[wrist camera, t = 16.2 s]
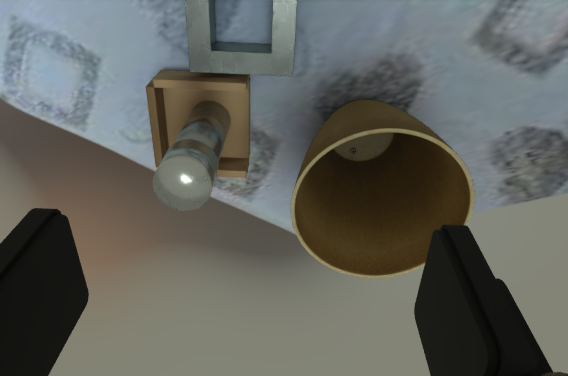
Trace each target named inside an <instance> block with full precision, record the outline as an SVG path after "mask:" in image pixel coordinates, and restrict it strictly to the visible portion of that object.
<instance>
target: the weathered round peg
mask: <svg viewBox="0 0 568 376" xmlns="http://www.w3.org/2000/svg"><path fill="white" fill-rule="evenodd" d="M230 124H231V118H230V115H229V112H228V111H227V109H226V108H225V107H224V106H223V105H221V104H220V103H218V102H215V101H202V102H200V103H198V104H197V105H196V106H195V107H194V108H193V109H192V111H191V113H190V115H189V117H188V119H187V120H186V122H185V124H184V126H183V128H182V130H181V131H180V133H179V135H178V137H177V139H176V141H175V142H174V144H173V145H171V146H170V148H169V149H168V150H167V152H166V154H165V156H164V158H163V160H162V161H161V163H160V165H159V167H158V169H157V170H156V172H155V174H154V177H153V188H154V191H155V193H156V195H157V196H158V198H159V199H160V200H161V201H162V202H163V203H164V204H166V205H167V206H169V207H171V208H173V209H176V210H181V211H182V210H183V211H189V210H195V209H198V208H200V207H202V206H203V205H204V204H205V203H206V202H207V201H208V199H209V197H210V195H211V192H212V188H213V185H214V182H215V179H216V176H217V172H218V168H219V164H218V162H219V159H220V156H221V153H222V150H223V147H224V143H225V140H226V137H227V134H228V131H229V128H230Z"/></svg>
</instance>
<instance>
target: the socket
mask: <svg viewBox="0 0 568 376" xmlns="http://www.w3.org/2000/svg"><path fill="white" fill-rule="evenodd" d="M296 5H297V0H273V28H272V44H256V43H235V42H216V22H215V0H185V6H186V21H187V35H188V49H189V63H190V72H207V73H228V74H249V75H271V76H292V77H293V63H294V44H295V25H296Z"/></svg>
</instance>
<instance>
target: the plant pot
mask: <svg viewBox="0 0 568 376" xmlns="http://www.w3.org/2000/svg"><path fill="white" fill-rule="evenodd" d="M354 149H355V152H353V150H354ZM474 201H475V193H474V185H473V181H472V178H471V175H470V173H469V171H468V169H467V167H466V165H465V163H464V162H463V161H462V159H461V158H460V157H459V156H458V155H457V153H456V152H455V151H454V150H453V149H452V148H451V147H450V146H449V145H448V144H447V143H446V142H445V141H443V140H442V139H441V138H440V137H439V136H438V135H437V134H436V133H435V132H433V131H432V130H431V129H430V128H428V127H427V126H426V125H424V124H423V123H422V122H420V121H419V120H417V119H416V118H414V117H413V116H411V115H410V114H408V113H406V112H404V111H402V110H400V109H398V108H396V107H394V106H392V105H389V104H386V103H383V102H380V101H375V100H366V99H363V100H355V101H352V102H349V103H347V104H345V105H343V106H342V107H340V108H339V109H338V110H336V111H335V112H334V113H333V114H332V115H331V116H330V117H329V118H328V119H327V121H326V122H325V123H324V124H323V126H322V127H321V128H320V130H319V131H318V133H317V134H316V136H315V138H314V139H313V141H312V143H311V145H310V147H309V149H308V151H307V153H306V156H305V158H304V161H303V163H302V166H301V169H300V172H299V175H298V178H297V181H296V184H295V188H294V191H293V195H292V200H291V218H292V223H293V227H294V230H295V232H296V235H297V237H298V239H299V240H300V242H301V244H302V245H303V246H304V248H305V249H306V250H307V251H308V252H309V253H310V254H311V255H312V256H313V257H314V258H315V259H317V260H318V261H320V262H321V263H322V264H324V265H326V266H327V267H329V268H331V269H334V270H336V271H338V272H341V273H344V274H348V275H352V276H358V277H367V278H383V277H392V276H397V275H400V274H404V273H408V272H411V271H414V270H417V269H419V268H421V267H424V266H425V262H426V258H427V254H428V250H429V246H430V242H431V238H432V234H433V232H434V230H440V228H441V227H442V225H444V224H446V225H466V226H468V224H469V221H470V219H471V216H472V213H473V209H474Z"/></svg>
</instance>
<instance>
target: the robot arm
mask: <svg viewBox="0 0 568 376" xmlns="http://www.w3.org/2000/svg"><path fill="white" fill-rule="evenodd" d="M88 295H89V293H88V288H87V285H86V281H85V277H84V274H83V271H82V267H81V263H80V260H79V256H78V252H77V249H76V245H75V242H74V238H73V235H72V231H71V228H70V224H69V221H68V218H67V217H66V216H65V215H62V214H61V212H60V211H59V210H57V209H41V208H35V209H32V210H31V211H30V212H28V214H27V215H26V216H25V217H24V218H23V219H22V220H21V221H20V223H19V224H18V225H17V226H16V227H15V228H14V229H13V230H12V231H11V233H10V234H9V235H8V236H7V237H6V238H5V239H4V240H3V241H2V243H1V244H0V376H48V375H49V373H50V371H51V369H52V367H53V366H54V364H55V362H56V360H57V358H58V356H59V354H60V353H61V351H62V349H63V347H64V345H65V344H66V342H67V340H68V338H69V336H70V334H71V332H72V330H73V329H74V327H75V325H76V323H77V321H78V319H79V318H80V316H81V314H82V312H83V310H84V309H85V307H86V305H87V302H88ZM414 313H415V320H416V324H417V327H418V331H419V335H420V338H421V342H422V345H423V349H424V353H425V356H426V360H427V364H428V367H429V371H430V375H431V376H568V374H567V373H563V372H553V371H552V369H551V367H550V366H549V364H548V362H547V360H546V358H545V356H544V354H543V352H542V351H541V349H540V347H539V345H538V343H537V342H536V340H535V338H534V336H533V334H532V332H531V330H530V328H529V327H528V325H527V323H526V321H525V319H524V317H523V316H522V314H521V312H520V310H519V308H518V306H517V305H516V303H515V301H514V299H513V297H512V295H511V293H510V292H509V290H508V288H507V286H506V285H505V283H504V282H503V281H502V280H500V279H495V277H494V275H493V273H492V271H491V269H490V268H489V265H488V264H487V262H486V260H485V258H484V256H483V254H482V252H481V250H480V248H479V246H478V244H477V243H476V241H475V239H474V237H473V235H472V233H471V231H470V230H469V228H468V226H466V225H446V224H444V225H442V227H441V228H440V230H434V232H433V234H432V238H431V242H430V246H429V250H428V254H427V258H426V262H425V266H424V270H423V274H422V278H421V282H420V286H419V290H418V295H417V299H416V302H415V309H414Z"/></svg>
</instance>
